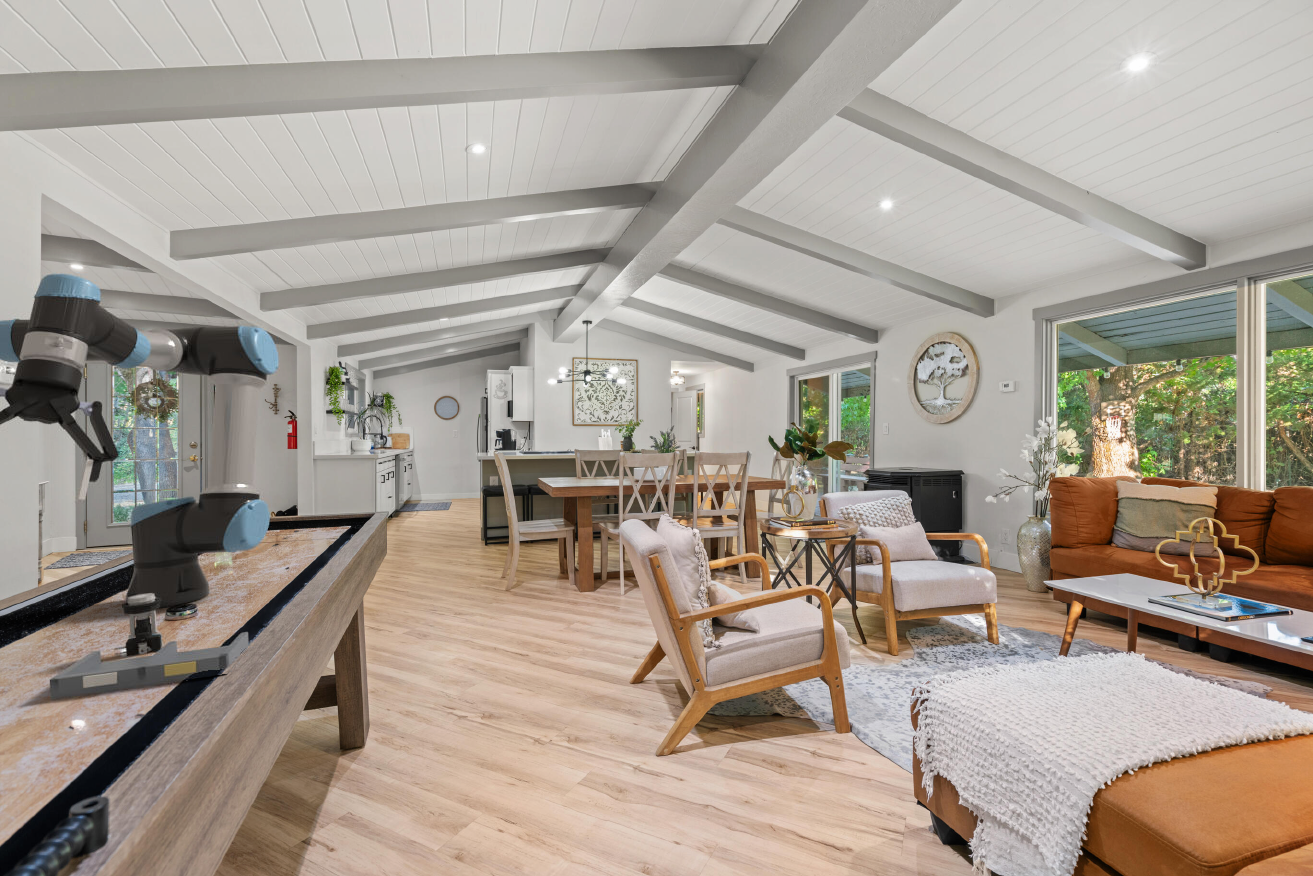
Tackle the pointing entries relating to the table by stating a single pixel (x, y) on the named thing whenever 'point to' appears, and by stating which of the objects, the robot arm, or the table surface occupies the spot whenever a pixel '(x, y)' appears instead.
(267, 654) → the table surface
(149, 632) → the push button
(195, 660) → the gray divided compartment tray
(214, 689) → the table surface
